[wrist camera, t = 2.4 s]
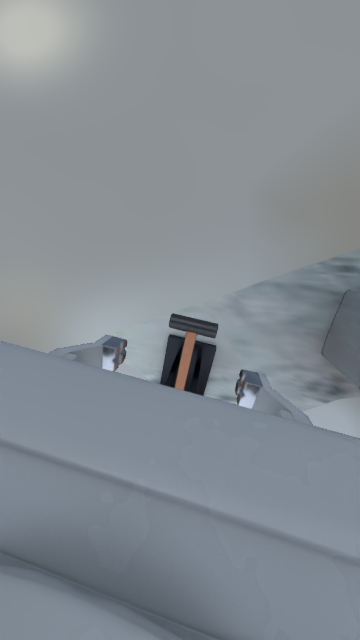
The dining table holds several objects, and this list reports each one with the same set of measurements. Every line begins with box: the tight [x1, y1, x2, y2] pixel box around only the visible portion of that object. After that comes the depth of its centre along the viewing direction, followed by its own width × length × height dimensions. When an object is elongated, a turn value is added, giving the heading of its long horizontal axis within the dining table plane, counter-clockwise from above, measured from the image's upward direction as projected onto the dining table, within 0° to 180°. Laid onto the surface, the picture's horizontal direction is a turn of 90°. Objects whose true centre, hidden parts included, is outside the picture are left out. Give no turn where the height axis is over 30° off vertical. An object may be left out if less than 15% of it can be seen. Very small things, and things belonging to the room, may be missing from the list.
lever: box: [169, 314, 218, 391], centre depth 23 cm, size 16×5×2 cm, turn 169°
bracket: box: [160, 335, 216, 396], centre depth 31 cm, size 12×9×16 cm
